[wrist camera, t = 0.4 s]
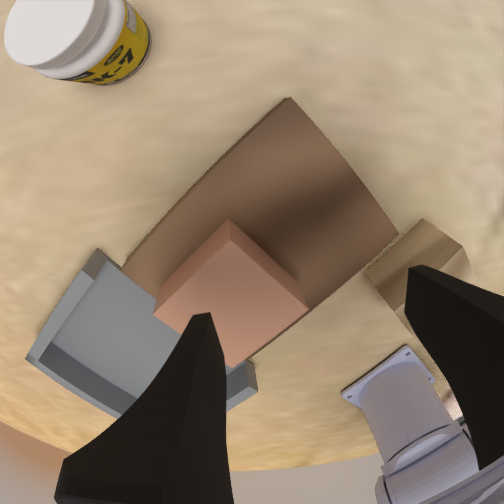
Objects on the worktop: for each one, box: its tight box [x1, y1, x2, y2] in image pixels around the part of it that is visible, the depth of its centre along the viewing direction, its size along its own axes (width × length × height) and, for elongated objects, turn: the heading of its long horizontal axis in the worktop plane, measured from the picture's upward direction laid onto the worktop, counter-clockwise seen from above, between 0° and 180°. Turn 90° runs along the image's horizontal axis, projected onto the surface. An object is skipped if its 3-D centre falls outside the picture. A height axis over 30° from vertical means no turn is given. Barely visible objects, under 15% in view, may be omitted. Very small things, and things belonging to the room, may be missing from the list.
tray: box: [25, 248, 258, 419], centre depth 22 cm, size 15×11×3 cm
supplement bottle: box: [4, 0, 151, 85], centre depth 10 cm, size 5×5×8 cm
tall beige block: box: [364, 219, 476, 338], centre depth 20 cm, size 4×6×5 cm, turn 134°
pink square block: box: [153, 218, 309, 368], centre depth 18 cm, size 6×6×3 cm
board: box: [121, 97, 399, 361], centre depth 19 cm, size 11×14×2 cm
